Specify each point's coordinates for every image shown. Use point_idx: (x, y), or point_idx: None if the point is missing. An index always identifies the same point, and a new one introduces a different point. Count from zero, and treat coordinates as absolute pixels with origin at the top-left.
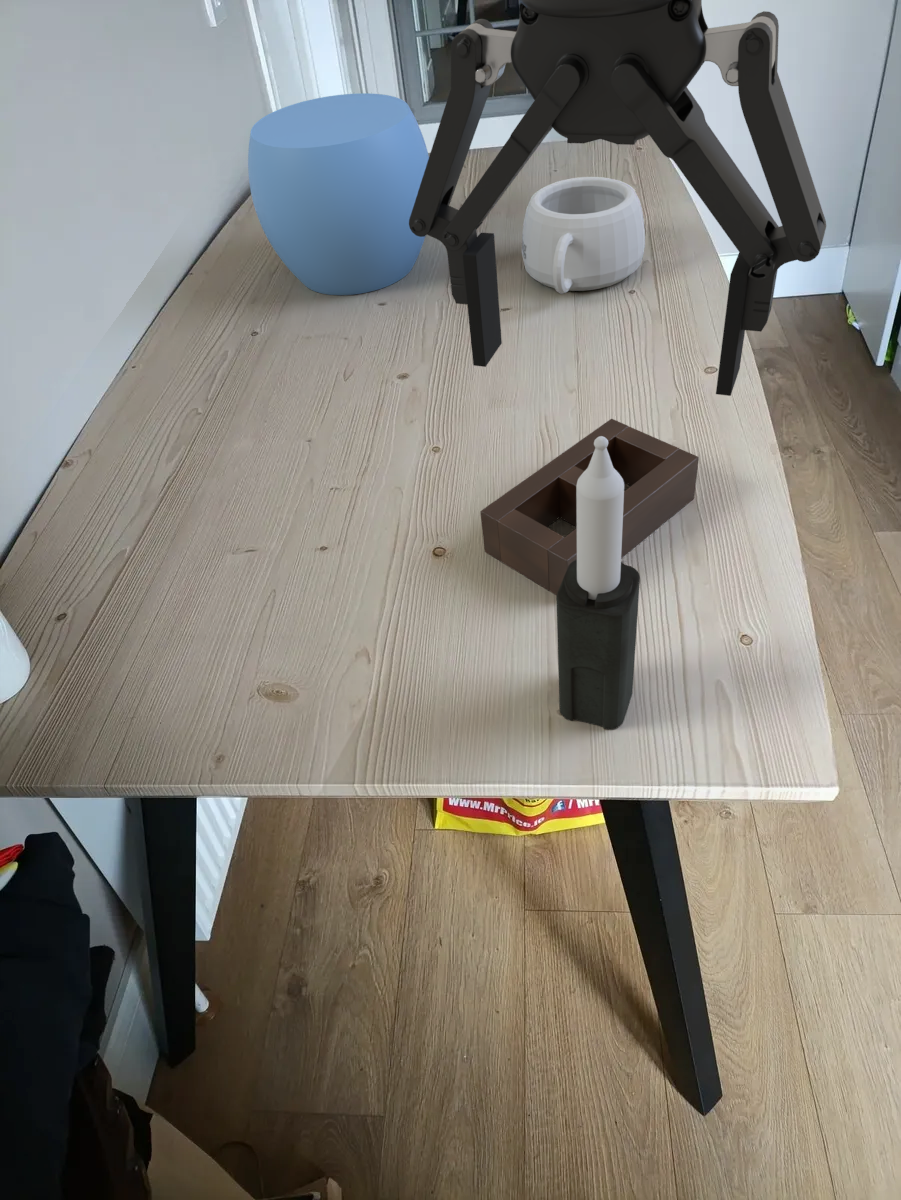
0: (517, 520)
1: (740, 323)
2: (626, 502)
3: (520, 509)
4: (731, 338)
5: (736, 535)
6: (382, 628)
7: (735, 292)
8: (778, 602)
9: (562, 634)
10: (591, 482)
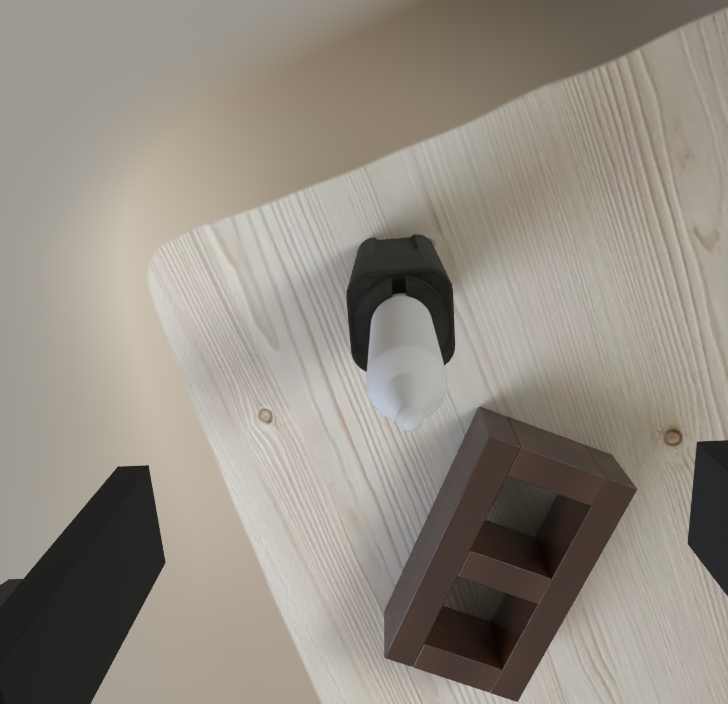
0: (579, 486)
1: (31, 570)
2: (448, 556)
3: (583, 511)
4: (70, 543)
5: (320, 566)
6: (699, 289)
7: (5, 627)
8: (248, 480)
9: (433, 259)
10: (414, 365)
